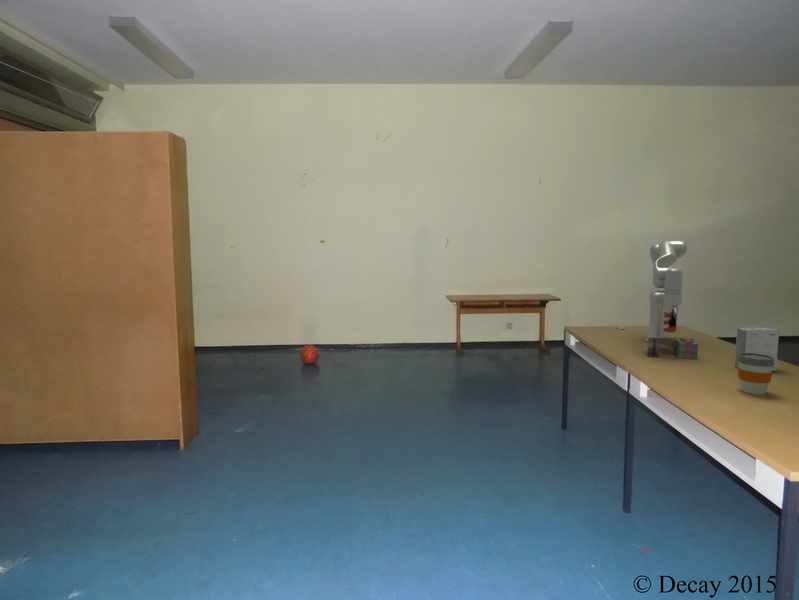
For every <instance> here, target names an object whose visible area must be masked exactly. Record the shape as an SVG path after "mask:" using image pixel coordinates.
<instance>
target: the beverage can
mask: <svg viewBox="0 0 799 600" xmlns="http://www.w3.org/2000/svg"><path fill="white" fill-rule="evenodd" d="M671 313H673V312H671ZM669 319H670V313H669V314H667V313H666V312H664V326H663V331H665V332H666V333H669V334H670V333H671V334H672V333H673V334H674V333H676V332H677V326H678V325H677V324H678V315H677V316H676V326H675V327H669Z"/></svg>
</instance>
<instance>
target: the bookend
mask: <svg viewBox="0 0 799 600" xmlns="http://www.w3.org/2000/svg"><path fill="white" fill-rule="evenodd" d="M659 351H660V341H659V340H658V339H656V338H655V337H654V338H653V353H650V352H647V351H646V352H645V351H643V352H642V354H643V355H644V356H646V357H647V358H657V357H659V358H660V354H659Z"/></svg>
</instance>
